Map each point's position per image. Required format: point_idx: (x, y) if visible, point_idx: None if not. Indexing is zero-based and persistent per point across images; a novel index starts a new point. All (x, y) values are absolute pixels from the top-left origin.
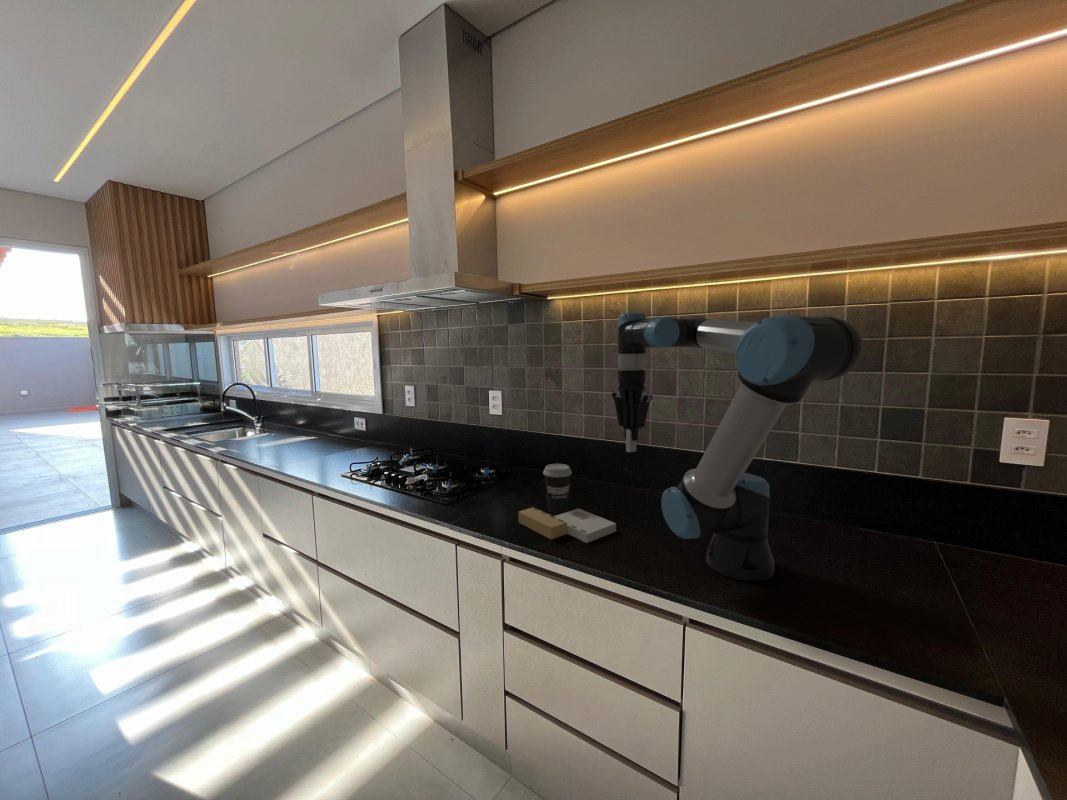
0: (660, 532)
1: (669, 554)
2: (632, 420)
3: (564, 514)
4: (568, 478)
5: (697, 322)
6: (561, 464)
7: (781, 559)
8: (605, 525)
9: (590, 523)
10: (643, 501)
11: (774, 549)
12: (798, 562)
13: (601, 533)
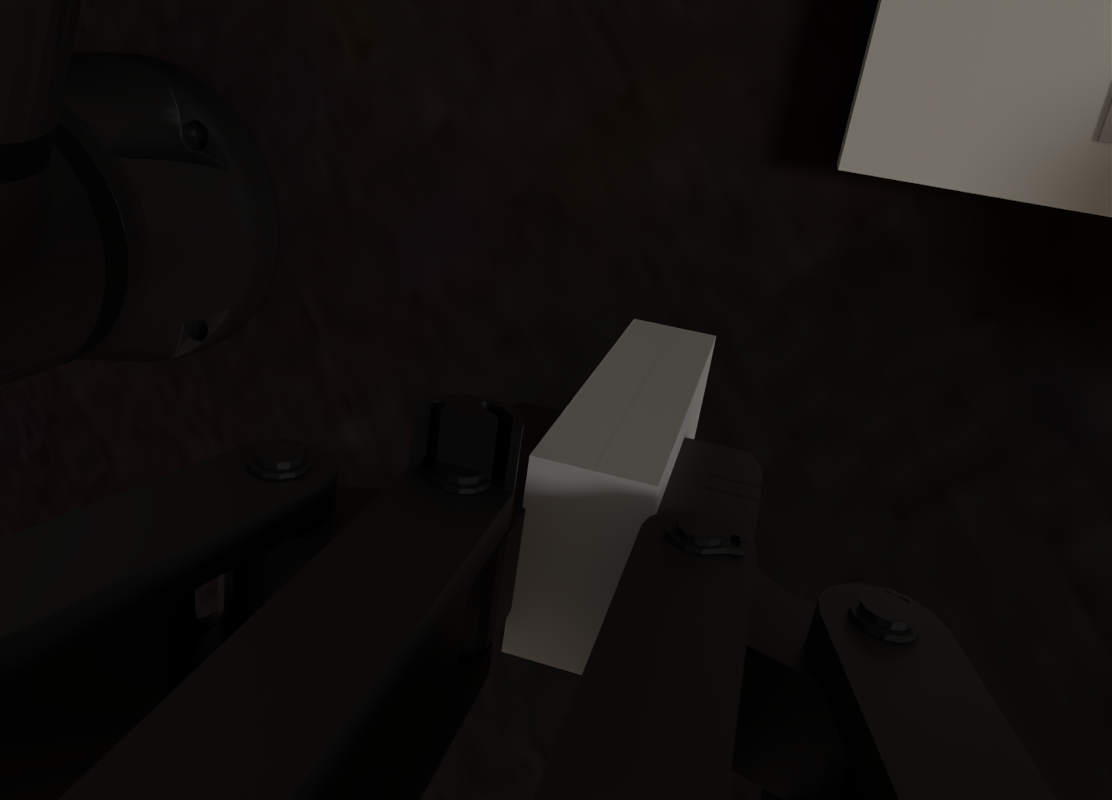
0: (597, 338)
1: (422, 91)
2: (365, 577)
3: None
4: None
5: None
6: None
7: (78, 389)
8: (888, 80)
9: (1017, 27)
10: None
11: (134, 472)
12: (32, 402)
13: (879, 2)
